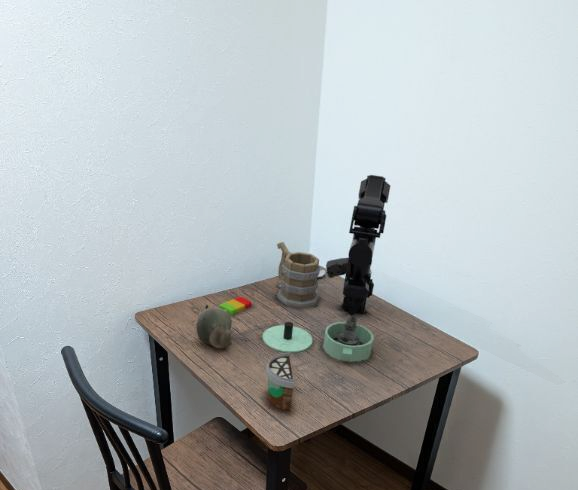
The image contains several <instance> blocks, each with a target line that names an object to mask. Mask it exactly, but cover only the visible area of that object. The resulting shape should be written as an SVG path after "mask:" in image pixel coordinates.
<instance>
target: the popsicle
mask: <svg viewBox="0 0 578 490" xmlns="http://www.w3.org/2000/svg"><path fill="white" fill-rule="evenodd" d="M251 307H252V301H251V300H250V299H248V298H246V297H243V296H237V297H234V298H233V299H230V300H228V301H225V302H222V303H221V304H219V308H221V309H223V310H225V311H226V312H227V313H228V314H229V315H230V316H233V315H235V314H237V313H239V312H241V311H244V310H246V309H248V308H251Z"/></svg>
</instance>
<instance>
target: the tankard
mask: <svg viewBox="0 0 578 490" xmlns="http://www.w3.org/2000/svg"><path fill="white" fill-rule="evenodd" d="M276 246H277V249H279V250H280V251H281V257H280V262H279V265H278V271H277V273H278V278H279V281H280V284H279V285H280V286H281V287H280V289H279V291H278V292H277V293H276V299H278V300H279V302H281V303H283V304H285V305H288V306H293V307H296V308H297V307H298V308H304V307H315V306H316V305H317V302H318V300H319V297H320V294H319V293H317V289H318V288H319V280H318V278H319V277H318V275H319V273H320V270H321V266H320V259H319V258H318V257H317V256H315V255H314V254H312V253H307V252H303V251H297V252H291V251H290V250H289V249H288V248H287V246H286V244H285V242H284V241H281V242H278V243H277V244H276Z"/></svg>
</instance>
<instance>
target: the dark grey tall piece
mask: <svg viewBox="0 0 578 490" xmlns="http://www.w3.org/2000/svg"><path fill="white" fill-rule="evenodd" d="M346 320H347V321H346ZM346 320H345V322H346V324H345V325H344V327H345V331H344V333H342V334H340V335H339V336H338V338H337V339H338V342H339V343H342V344H345V345H351V346H356V345H358V343H359V342H360V341H359V338H358V337H357V336H356V335H355V330H356V329H357V326H356V324H358V323H357V322H358V316H357V314H354V315H353V316H352V315H349V314H347V316H346Z"/></svg>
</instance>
